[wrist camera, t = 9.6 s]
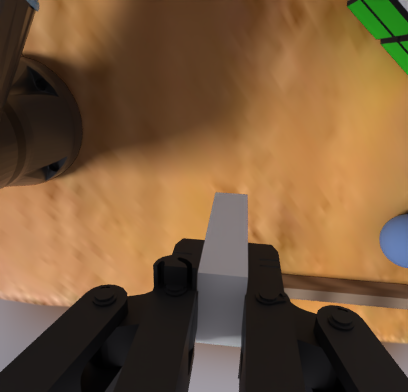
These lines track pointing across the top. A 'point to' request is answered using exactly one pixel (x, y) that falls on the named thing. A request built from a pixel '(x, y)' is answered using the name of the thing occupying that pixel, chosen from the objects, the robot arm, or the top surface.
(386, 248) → the ball
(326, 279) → the lane bumper
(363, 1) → the puzzle cube
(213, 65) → the top surface
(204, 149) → the top surface
